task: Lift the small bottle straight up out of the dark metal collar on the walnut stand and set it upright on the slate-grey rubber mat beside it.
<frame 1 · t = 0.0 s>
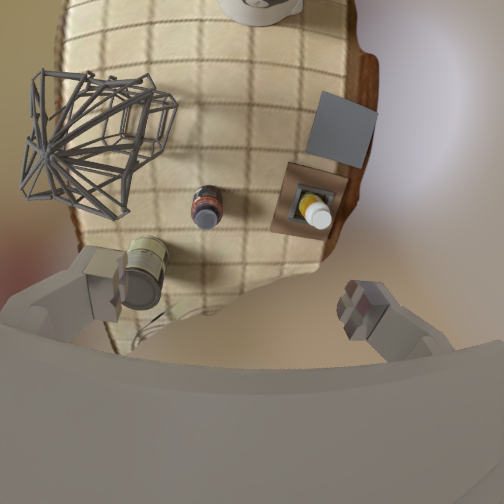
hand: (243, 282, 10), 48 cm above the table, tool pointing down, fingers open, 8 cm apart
supplement bottle: (207, 197, 57), on the table
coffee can: (148, 253, 62), on the table
supplement bottle 2: (307, 202, 61), resting in walnut stand
walnut stand: (308, 202, 60), on the table
slate mat: (343, 130, 53), on the table
geometric lantern: (143, 118, 47), on the table
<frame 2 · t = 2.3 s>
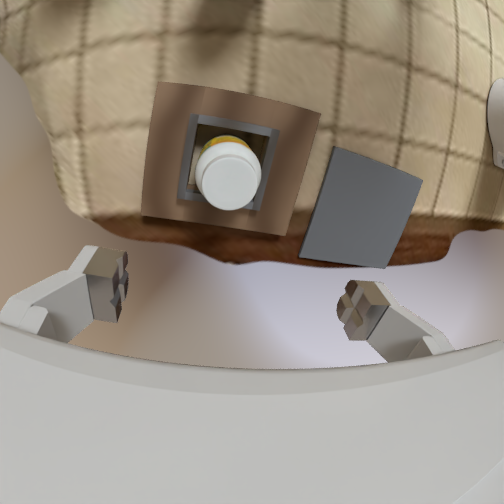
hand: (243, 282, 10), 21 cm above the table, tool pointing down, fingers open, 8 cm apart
supplement bottle 2: (225, 158, 27), resting in walnut stand
walnut stand: (225, 158, 27), on the table
slate mat: (364, 214, 32), on the table
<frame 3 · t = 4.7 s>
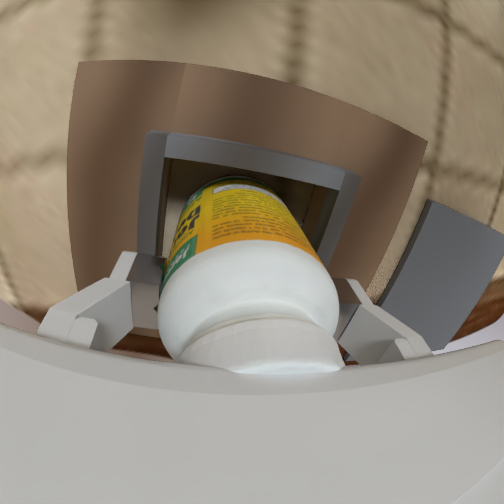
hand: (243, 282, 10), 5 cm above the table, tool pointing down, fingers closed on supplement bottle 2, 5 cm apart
supplement bottle 2: (233, 223, 14), resting in walnut stand, touching gripper
walnut stand: (234, 225, 13), on the table
slate mat: (440, 295, 19), on the table
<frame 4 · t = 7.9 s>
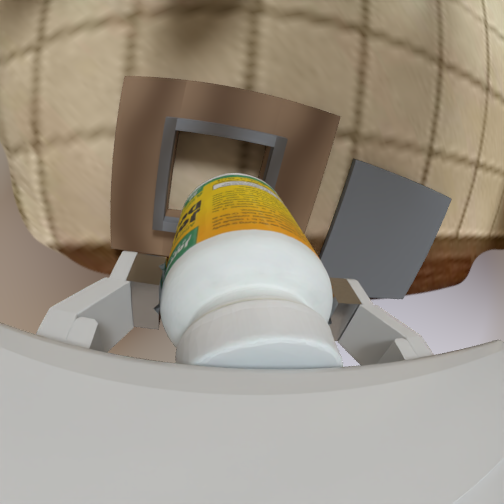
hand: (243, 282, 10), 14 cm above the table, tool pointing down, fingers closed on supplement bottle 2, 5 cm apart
supplement bottle 2: (233, 219, 14), point 8 cm above the table, touching gripper
walnut stand: (215, 175, 21), on the table
slate mat: (385, 241, 26), on the table
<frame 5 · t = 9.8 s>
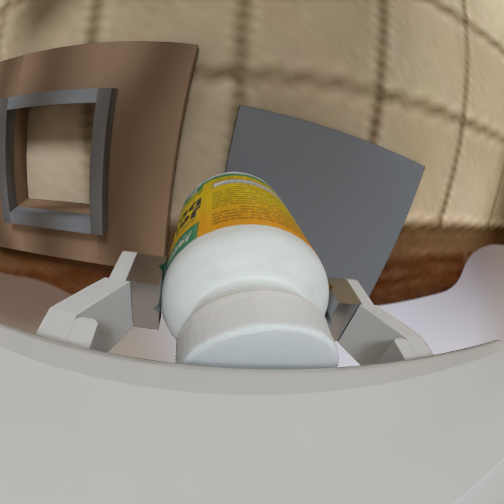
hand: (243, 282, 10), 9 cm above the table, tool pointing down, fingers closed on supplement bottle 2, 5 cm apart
supplement bottle 2: (232, 217, 14), point 3 cm above the table, touching gripper
walnut stand: (62, 153, 14), on the table
slate mat: (316, 229, 19), on the table
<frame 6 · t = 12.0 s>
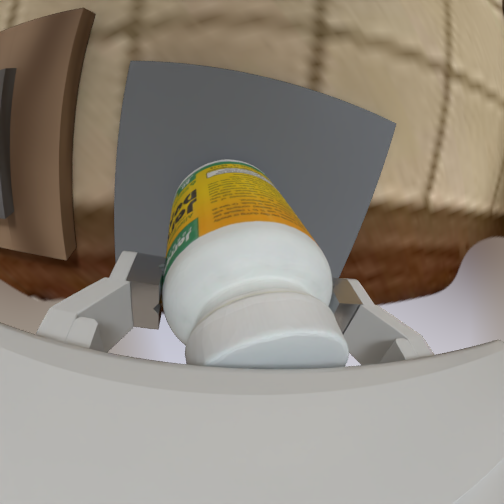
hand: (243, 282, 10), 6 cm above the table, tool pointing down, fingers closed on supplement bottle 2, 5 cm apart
supplement bottle 2: (224, 205, 14), point 1 cm above the table, touching gripper, slate mat
slate mat: (243, 208, 15), on the table
when the fingers open (6 cm above the table, at t = 12.2 s): supplement bottle 2 stays where it is, resting on slate mat.
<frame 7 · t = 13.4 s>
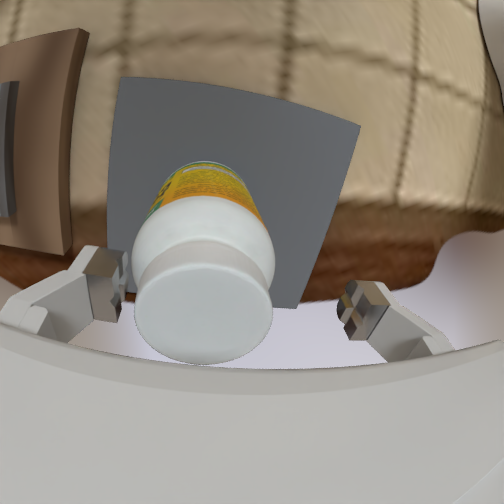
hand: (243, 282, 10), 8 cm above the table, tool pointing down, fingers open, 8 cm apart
supplement bottle 2: (204, 202, 16), resting on slate mat
slate mat: (221, 206, 16), on the table
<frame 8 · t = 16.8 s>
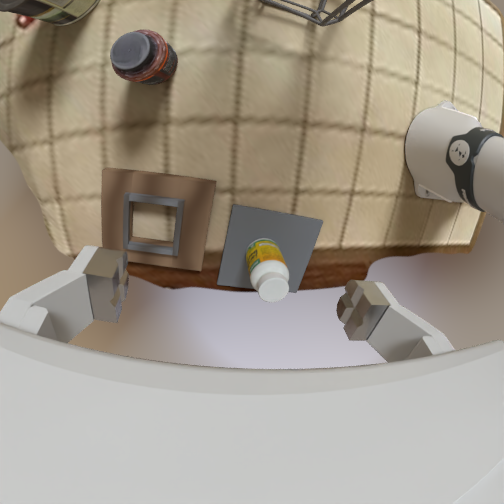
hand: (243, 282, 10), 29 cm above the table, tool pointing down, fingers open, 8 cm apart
supplement bottle: (156, 64, 27), on the table
supplement bottle 2: (262, 251, 43), resting on slate mat
walnut stand: (154, 219, 38), on the table
slate mat: (268, 252, 44), on the table
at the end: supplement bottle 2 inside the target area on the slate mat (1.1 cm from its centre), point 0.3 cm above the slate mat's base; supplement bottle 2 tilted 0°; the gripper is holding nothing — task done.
